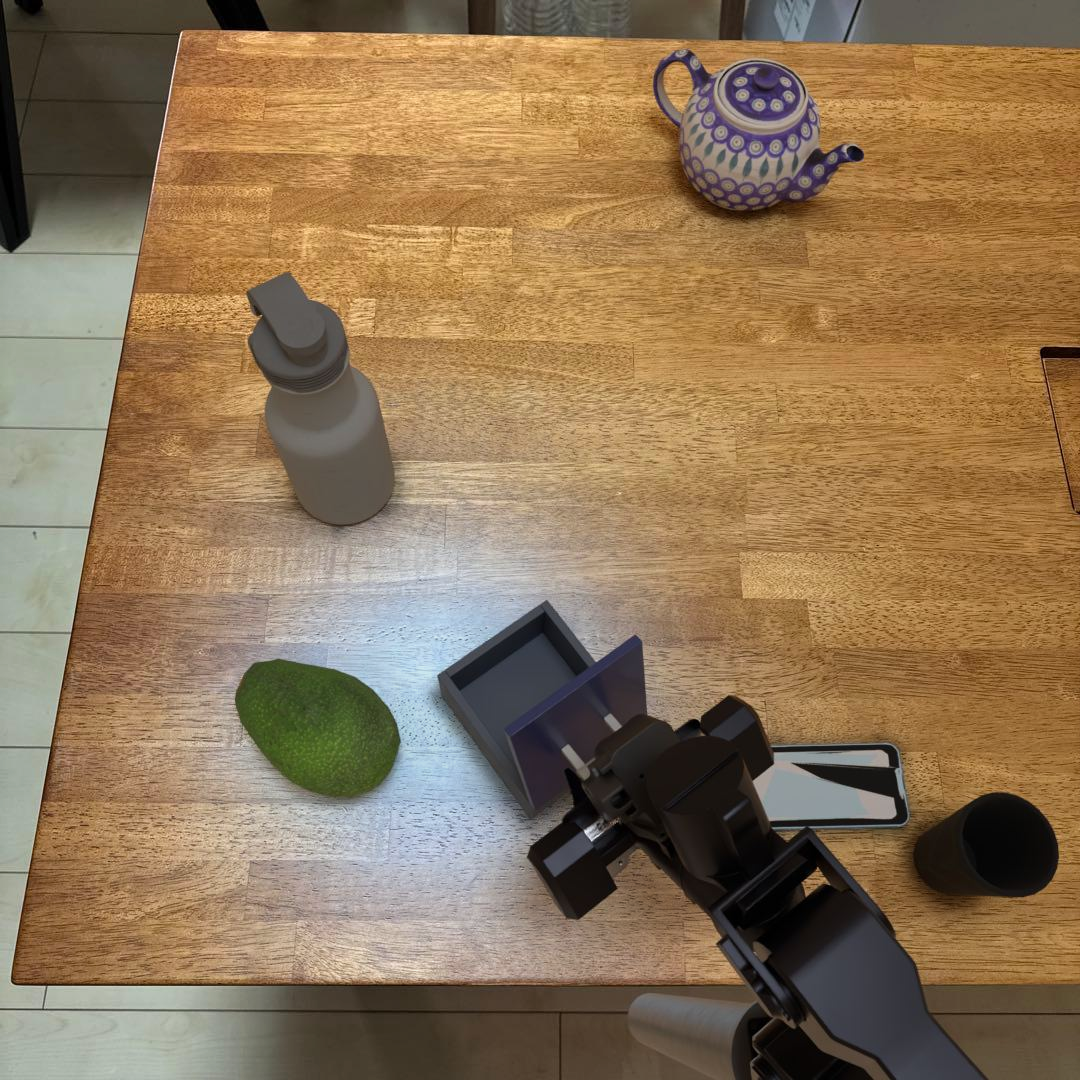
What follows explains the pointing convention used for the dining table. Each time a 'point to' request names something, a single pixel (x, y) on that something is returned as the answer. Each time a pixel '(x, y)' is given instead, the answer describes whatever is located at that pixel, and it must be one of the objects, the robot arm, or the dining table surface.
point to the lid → (577, 721)
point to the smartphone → (834, 787)
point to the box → (513, 686)
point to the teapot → (750, 134)
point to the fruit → (318, 726)
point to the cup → (989, 849)
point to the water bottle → (319, 406)
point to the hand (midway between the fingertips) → (595, 752)
